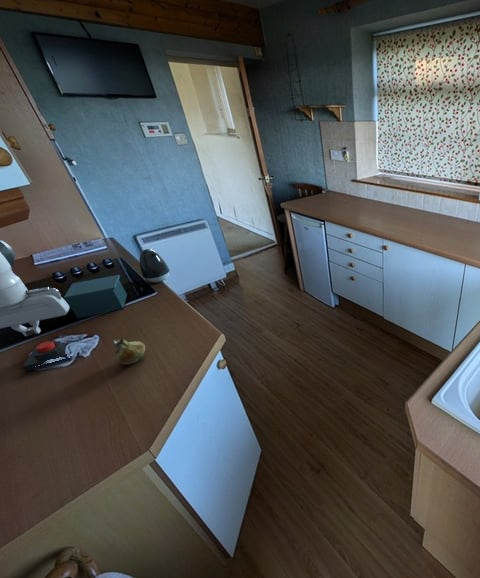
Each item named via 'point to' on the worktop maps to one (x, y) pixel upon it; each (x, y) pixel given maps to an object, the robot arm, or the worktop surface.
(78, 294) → the lid
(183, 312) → the worktop surface
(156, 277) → the black egg-shaped dome
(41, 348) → the button
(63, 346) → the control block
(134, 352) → the onion
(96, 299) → the tin
